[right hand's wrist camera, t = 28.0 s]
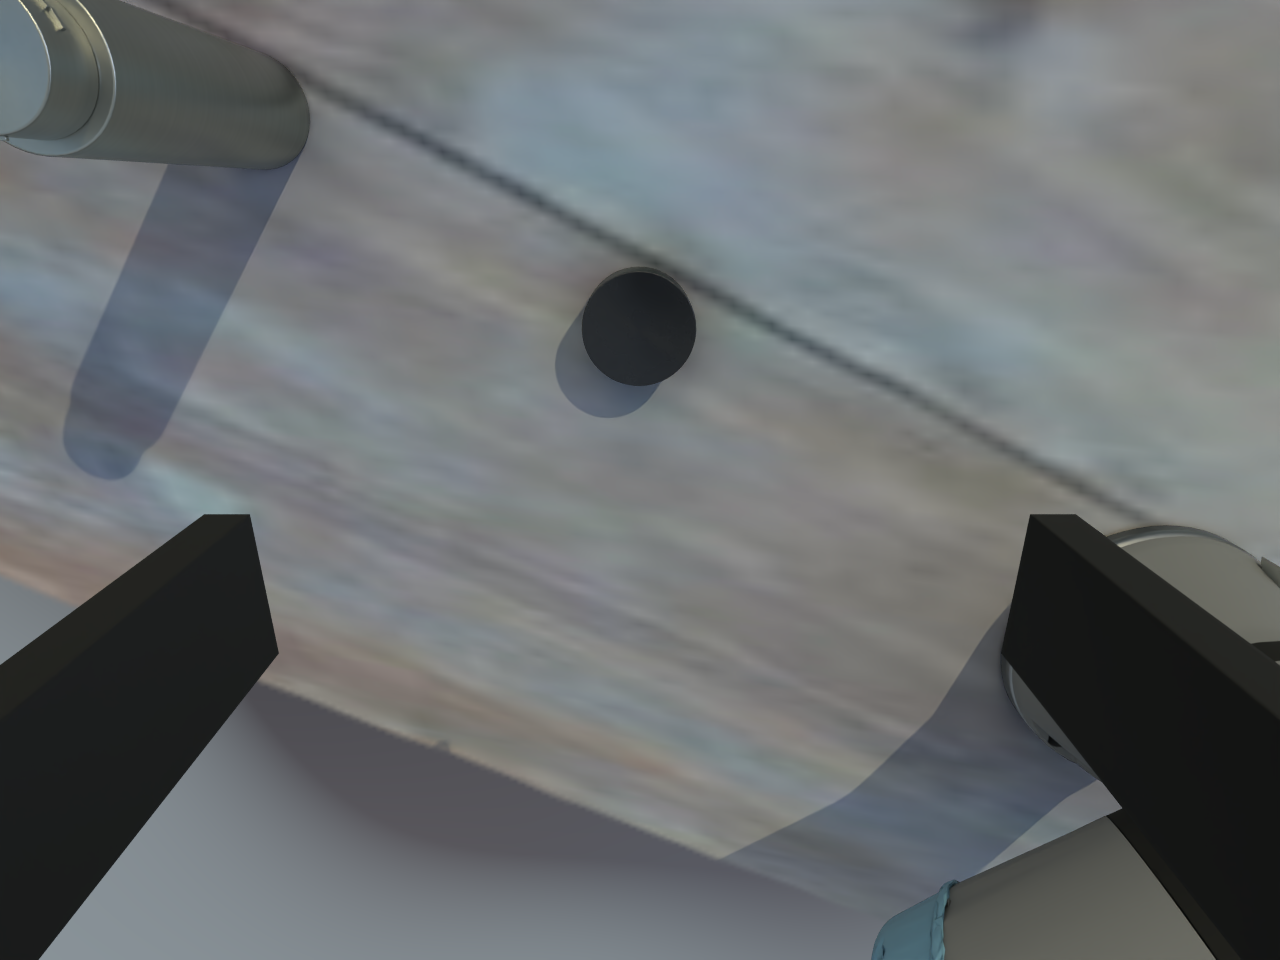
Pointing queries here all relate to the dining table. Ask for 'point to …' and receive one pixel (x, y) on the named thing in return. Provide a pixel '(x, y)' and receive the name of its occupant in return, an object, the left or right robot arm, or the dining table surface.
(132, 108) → the jar
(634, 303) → the lid
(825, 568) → the dining table surface
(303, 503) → the dining table surface
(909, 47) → the dining table surface
